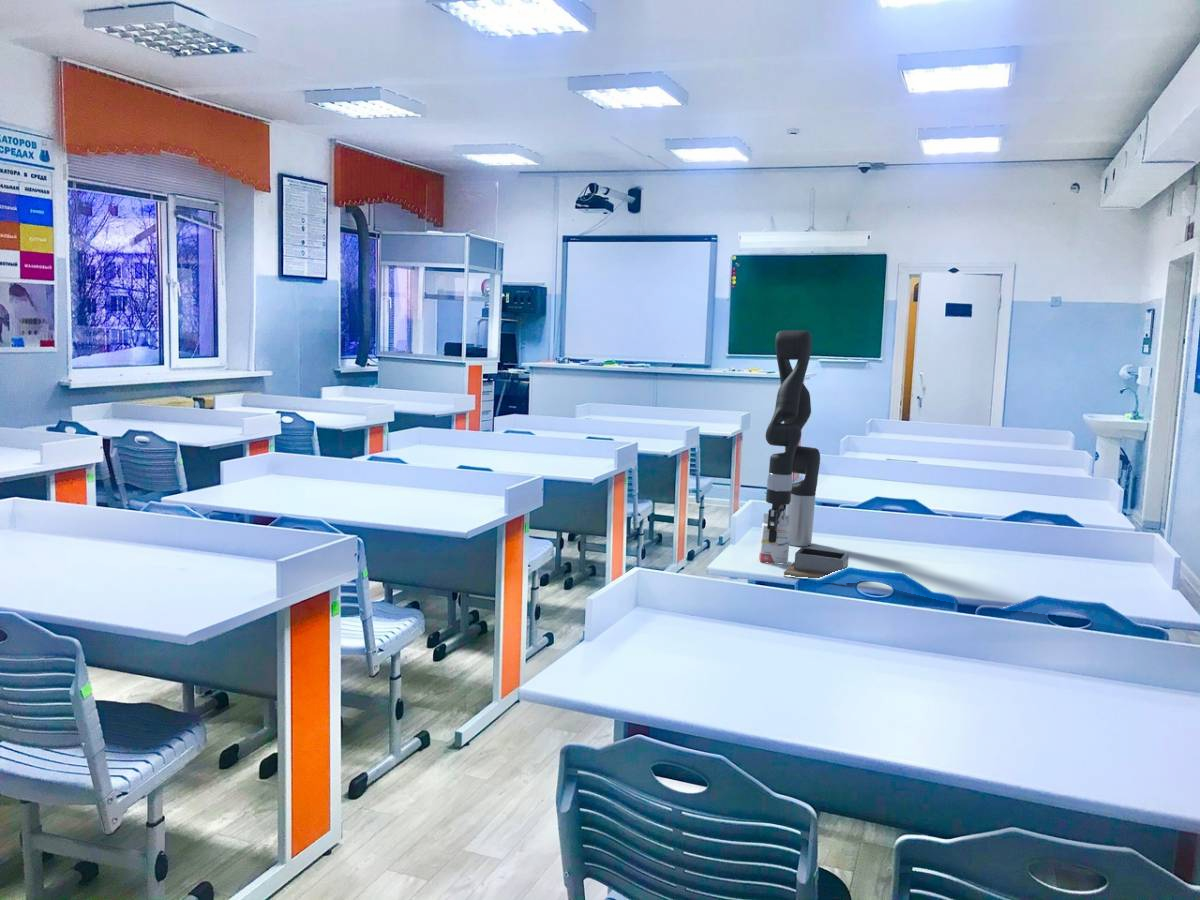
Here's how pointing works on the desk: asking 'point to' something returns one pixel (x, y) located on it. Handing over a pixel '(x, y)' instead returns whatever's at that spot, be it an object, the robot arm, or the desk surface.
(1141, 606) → the desk surface
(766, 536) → the ink cartridge box
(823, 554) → the sleeve
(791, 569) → the base board
